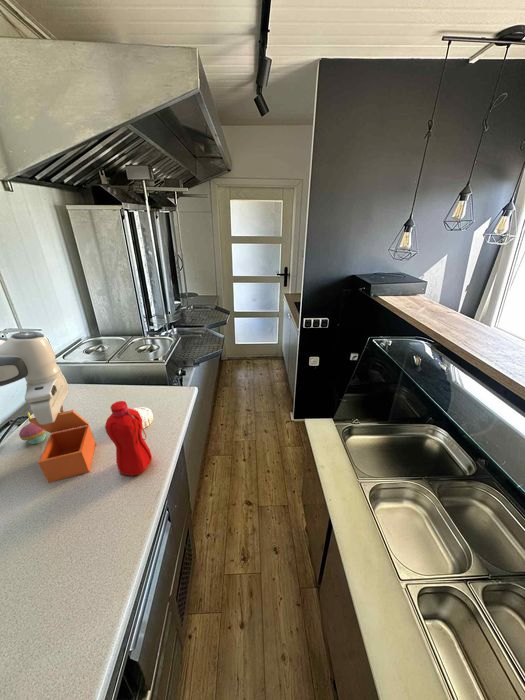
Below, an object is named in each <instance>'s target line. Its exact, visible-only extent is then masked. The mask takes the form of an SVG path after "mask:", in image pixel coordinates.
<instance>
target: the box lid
mask: <svg viewBox="0 0 525 700" xmlns="http://www.w3.org/2000/svg"><path fill="white" fill-rule="evenodd" d="M28 422H29V423H33V424H35V425H36V426H38V427H40V428H42V429H44V430H46V433H48V434H49V433H50V434H51V433H55V432H59V431H64V430H68V429H73V428H77V427H82V426H87V425H89V426H90V424H89V422H88V421H87V420H86V419H85V418H84V417H82V416H81V415H80V414H79V413H77V412H76V411H75V410H74V409H71V410H64V412H60V413H58V415H57V417H56V419H55V422H53V423H50V424H45V425H41V424H39V423H38V422H37V420H36V418H35V417H31V419H29V418H28Z"/></svg>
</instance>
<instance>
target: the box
mask: <svg viewBox="0 0 525 700" xmlns="http://www.w3.org/2000/svg"><path fill="white" fill-rule="evenodd" d="M96 445H97V443H96V440H95V438H94V435H93V432H92V428H91V427H90V424H89V425H86V426H81V427H77V428H72V429H68V430H63V431H59V432H54V433H50V434H49V437H48V439H47V442H46V443H45V446H44V449H43V451H42V453H41V455H40V457H39V459H38V462H37V463H38V465H39V467H40V469H41V471H42V473H43V476H44V477H45V479H46V481H47V483H52V482H56V481H60V480H64V479H67V478H72V477H76V476H80V475H82V474H83V475H84V474H87V473H90V471H91V467H92V462H93V457H94V453H95V449H96ZM75 450H78V451H77V452H73V453H69V454H65V455H62V453H67V452H71V451H75Z"/></svg>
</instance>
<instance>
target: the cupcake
mask: <svg viewBox="0 0 525 700" xmlns="http://www.w3.org/2000/svg"><path fill="white" fill-rule="evenodd" d="M27 417H28V420H29V419H31V418H32V416H31V414H30V412H29V411H28V410H27ZM46 434H47V431H46V430H44V429H42V428H40V427H38V426H36V425H35V424H33V423H31V422H29V423H28V424H25V425H24V426H23V427H21V429H20V431H19V434H18V435H19V438H20V439H21V440H22V441H27V442H28V443H29V444H31V445H37V444H40V443H42V442H43V441H44V440H46V437H47V435H46Z"/></svg>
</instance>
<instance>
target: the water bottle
mask: <svg viewBox="0 0 525 700" xmlns="http://www.w3.org/2000/svg"><path fill="white" fill-rule="evenodd" d="M110 411H111V414H110V415H109V416H108V417H107V419H106V421H105V425H104V428H105V433H106V434H107V436H108V438H109V439H110V440H111V442H112V443H113V444H114V445H115V452H116V453H115V460H116V461H115V462H116V465H117V469H118V471H119V473H120V474H122V475H124V476H125V475H126V476H131V477H133V476H139V475H141V474H143V473H144V472H145V471H146V470H147V469H148V467H149V465H150V464H151V462H152V458H153V454H152V452H151V449H150V447H149V446H148V444H147V442H146V440H147V434H146V432H145V428H144V429H143V427H142V418H141V416H140V414H139V413H138V411H136V410H134V408H130V407H128V404H127V402H126V401H125V400H119V401H115V402H114V403H112V404H111V405H110ZM143 434H144V437H143Z"/></svg>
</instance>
